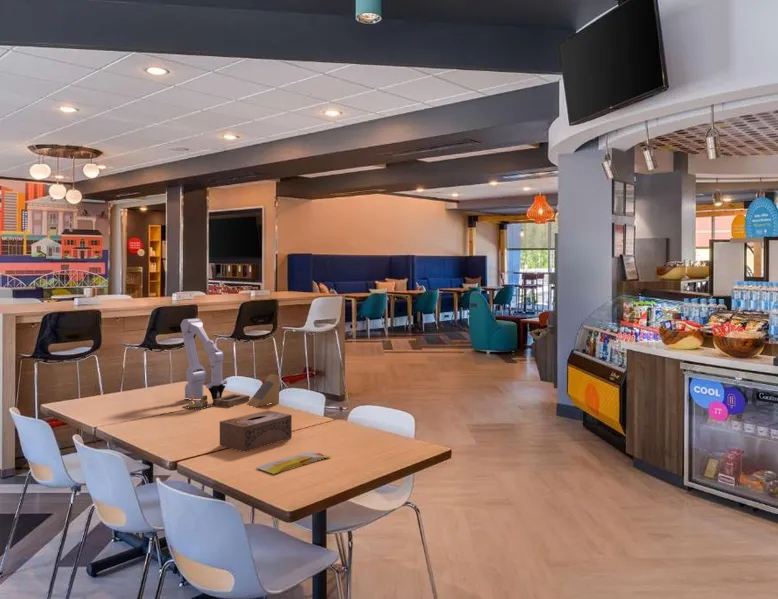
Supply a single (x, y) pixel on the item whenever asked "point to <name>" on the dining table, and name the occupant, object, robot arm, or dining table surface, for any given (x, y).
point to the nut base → (197, 401)
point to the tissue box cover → (255, 430)
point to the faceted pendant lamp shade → (199, 404)
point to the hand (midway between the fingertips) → (216, 399)
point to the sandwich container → (267, 392)
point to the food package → (291, 462)
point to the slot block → (231, 400)
